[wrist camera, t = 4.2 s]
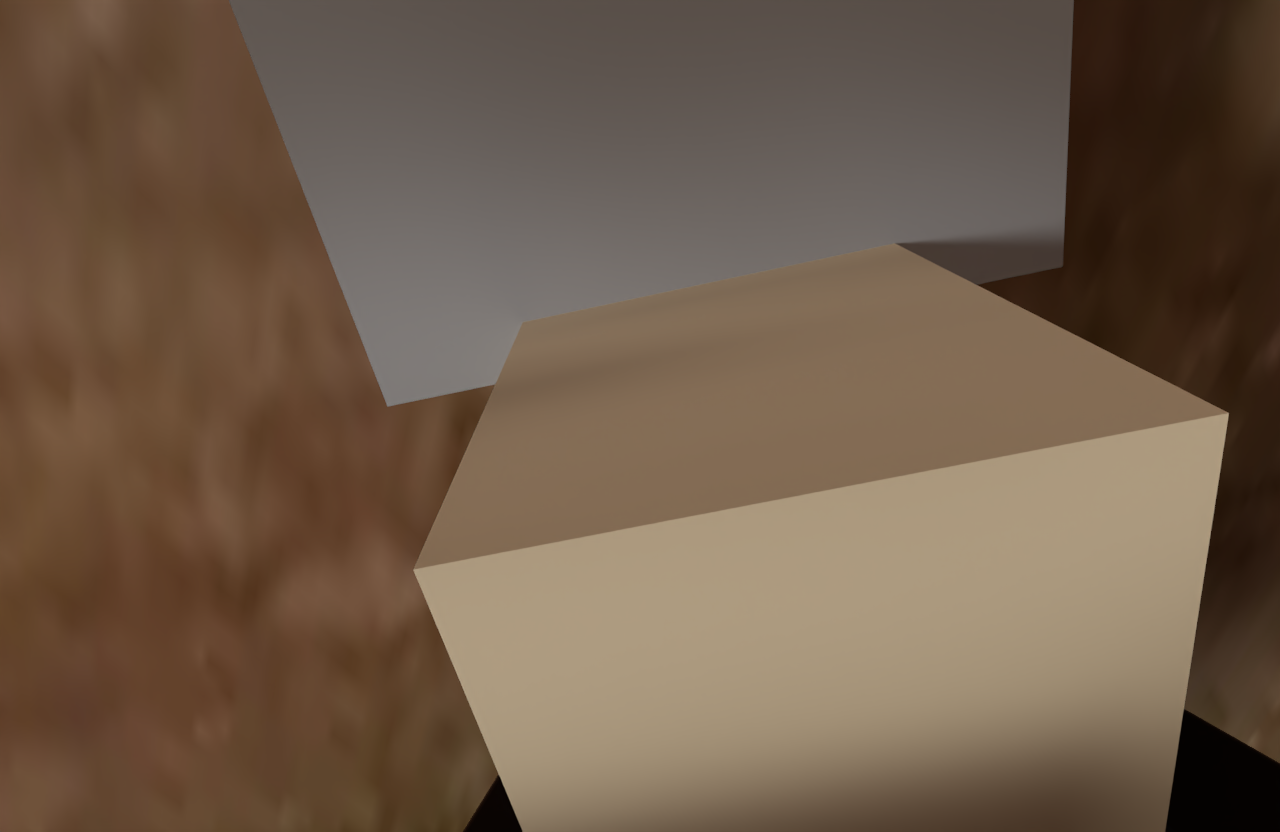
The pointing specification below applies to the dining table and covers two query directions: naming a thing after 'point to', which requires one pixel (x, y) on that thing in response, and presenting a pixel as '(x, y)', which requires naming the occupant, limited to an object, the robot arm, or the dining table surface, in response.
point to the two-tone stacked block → (760, 406)
